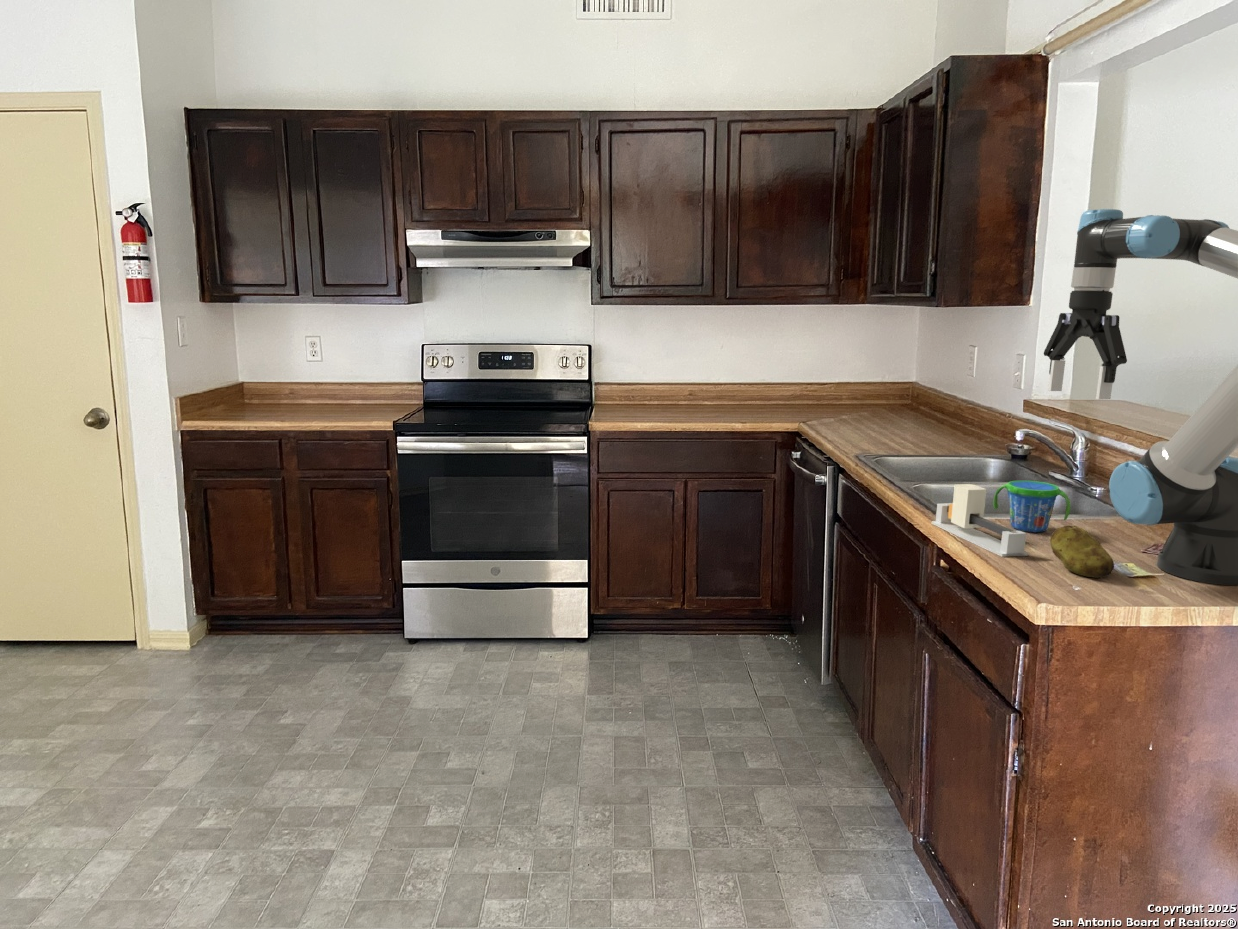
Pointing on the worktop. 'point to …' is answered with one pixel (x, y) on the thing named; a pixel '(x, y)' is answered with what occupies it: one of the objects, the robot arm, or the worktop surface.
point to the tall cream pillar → (967, 504)
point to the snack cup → (1031, 504)
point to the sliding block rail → (1006, 547)
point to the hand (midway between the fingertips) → (1078, 395)
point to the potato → (1081, 552)
